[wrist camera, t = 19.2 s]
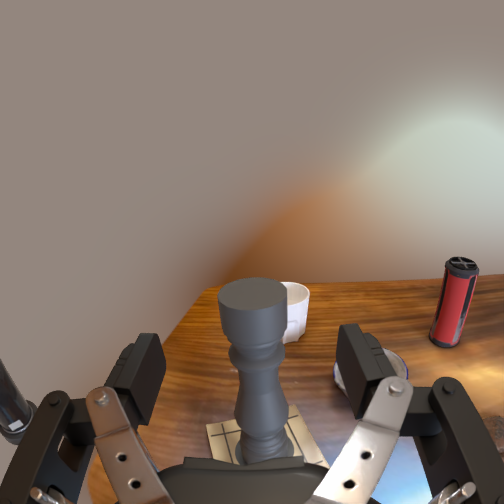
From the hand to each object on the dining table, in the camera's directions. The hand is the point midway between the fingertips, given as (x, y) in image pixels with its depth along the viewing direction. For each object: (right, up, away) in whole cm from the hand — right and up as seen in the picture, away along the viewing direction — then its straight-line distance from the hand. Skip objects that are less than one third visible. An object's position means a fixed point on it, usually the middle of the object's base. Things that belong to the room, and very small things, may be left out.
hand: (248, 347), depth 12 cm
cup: (+7, -14, +49) cm, 51 cm away
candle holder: (+2, -23, +20) cm, 30 cm away
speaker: (+42, -15, +38) cm, 59 cm away
